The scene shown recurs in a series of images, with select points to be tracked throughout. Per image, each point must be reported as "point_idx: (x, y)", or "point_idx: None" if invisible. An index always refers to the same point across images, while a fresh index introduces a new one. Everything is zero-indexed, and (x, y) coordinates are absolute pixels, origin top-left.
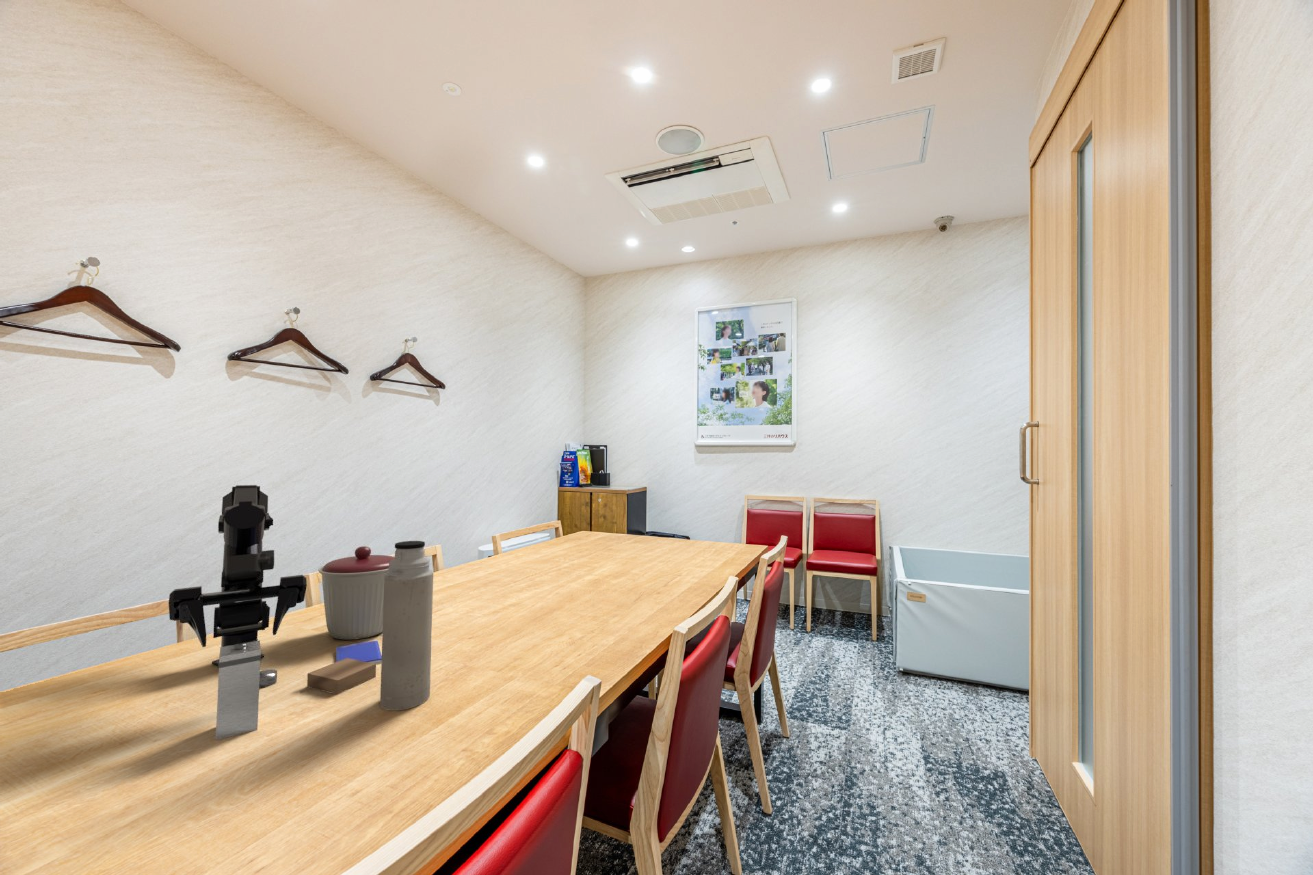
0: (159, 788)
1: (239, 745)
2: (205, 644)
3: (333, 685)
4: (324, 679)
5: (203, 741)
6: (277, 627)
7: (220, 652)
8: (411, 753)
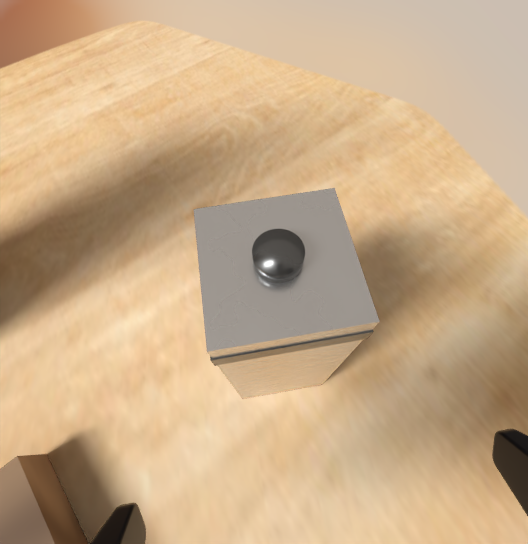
0: (338, 184)
1: None
2: (495, 438)
3: (39, 473)
4: (50, 519)
5: None
6: (98, 533)
7: (349, 240)
8: (21, 130)
